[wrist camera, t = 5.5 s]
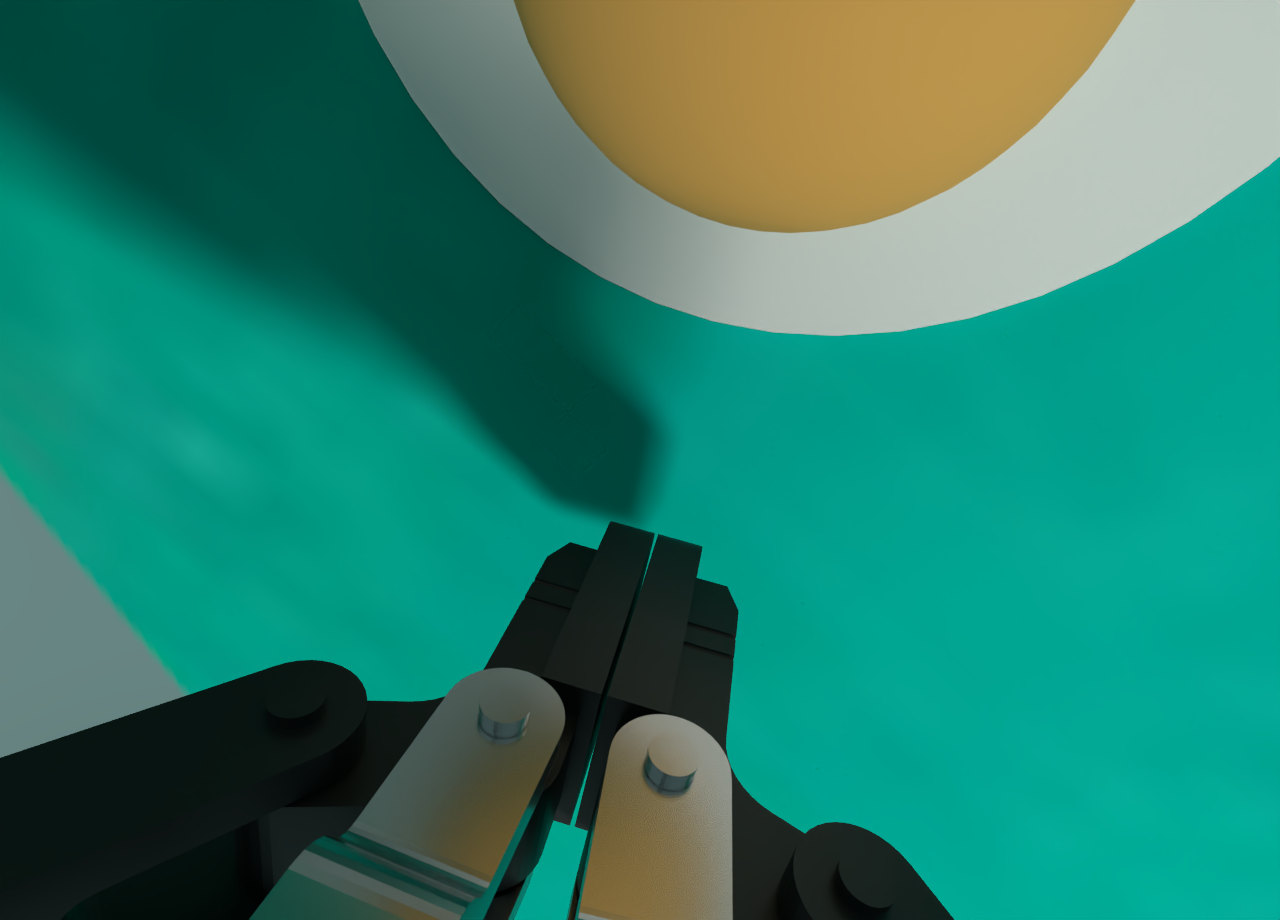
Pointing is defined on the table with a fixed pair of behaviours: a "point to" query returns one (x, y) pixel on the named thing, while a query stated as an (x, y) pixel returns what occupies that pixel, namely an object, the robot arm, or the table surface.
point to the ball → (810, 95)
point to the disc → (895, 245)
